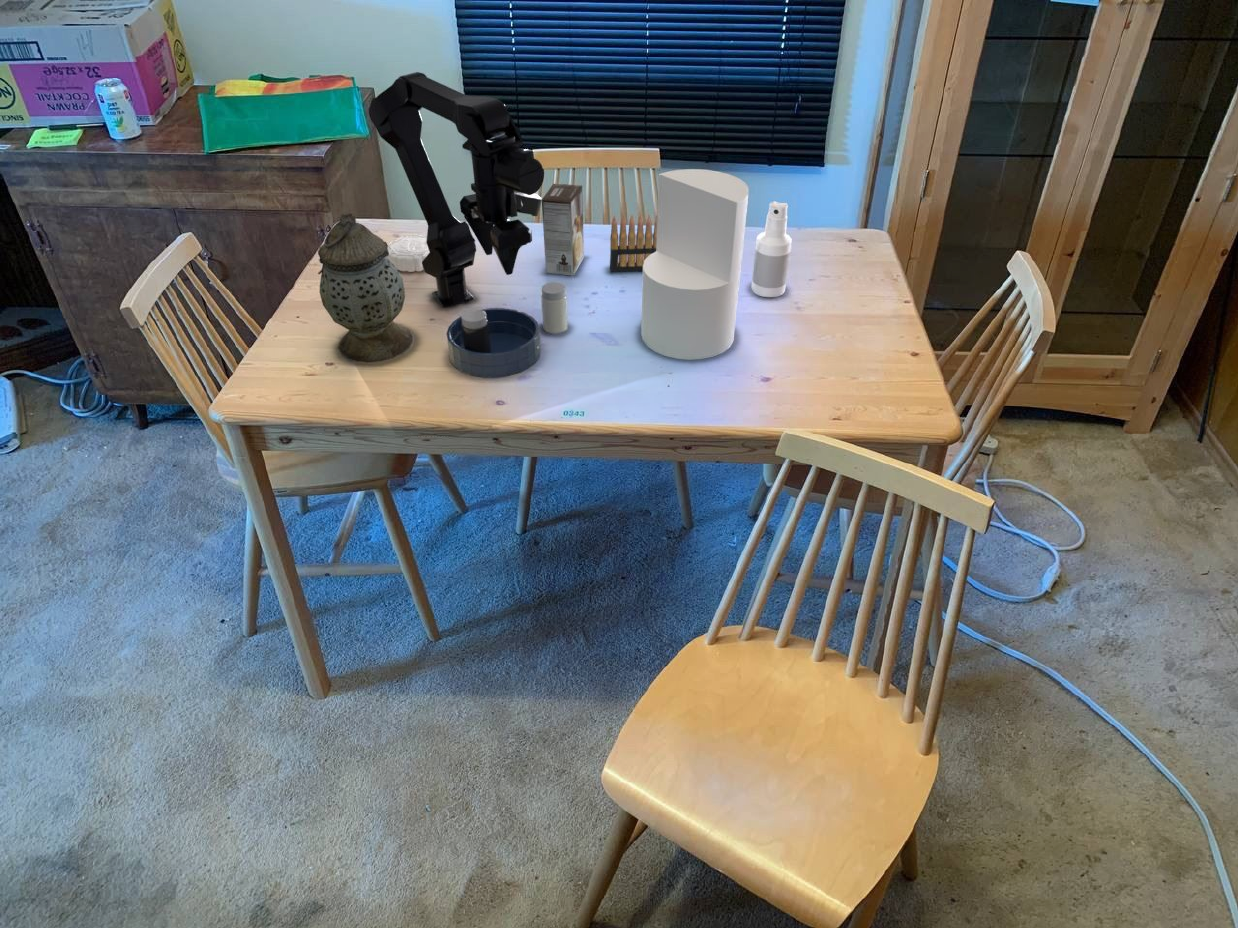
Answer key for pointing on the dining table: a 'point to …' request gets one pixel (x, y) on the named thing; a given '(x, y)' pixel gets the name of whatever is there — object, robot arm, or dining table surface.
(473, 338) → the pepper shaker
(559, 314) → the salt shaker
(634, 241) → the ammunition clip
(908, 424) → the dining table surface
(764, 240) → the spray bottle
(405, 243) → the mooncake
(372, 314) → the lantern
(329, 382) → the dining table surface
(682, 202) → the cylinder
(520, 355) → the bowl
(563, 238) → the coffee box
